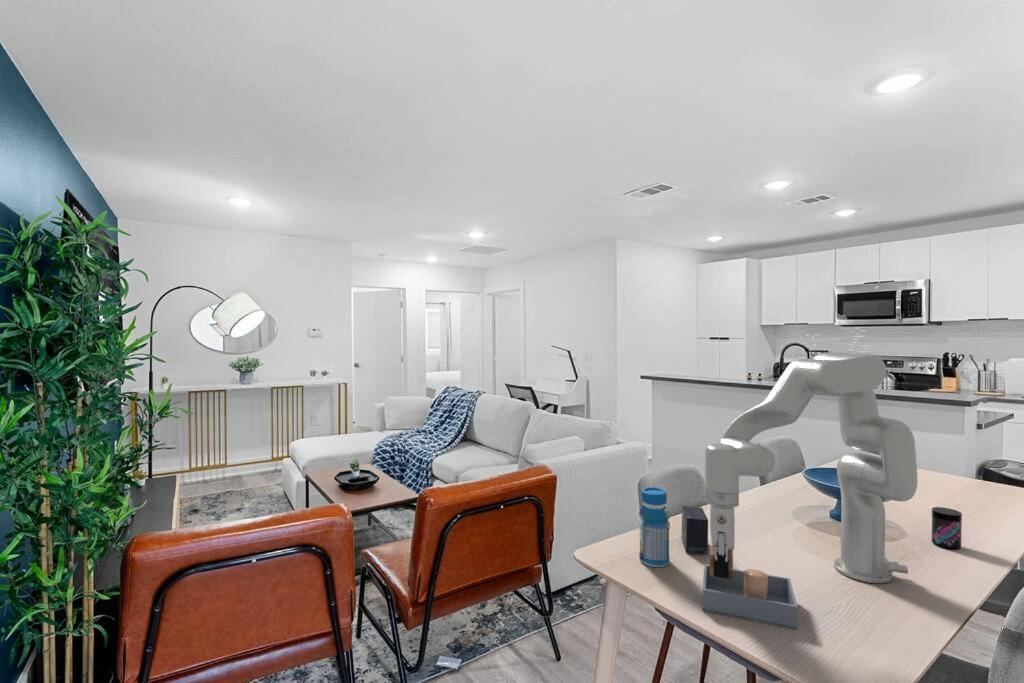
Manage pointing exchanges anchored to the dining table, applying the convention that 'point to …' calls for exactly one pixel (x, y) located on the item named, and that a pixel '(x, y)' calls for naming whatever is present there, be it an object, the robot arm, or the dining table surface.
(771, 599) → the tote
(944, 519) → the supplement container
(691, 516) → the small box
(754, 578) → the tan rounded smooth part
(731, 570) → the walnut cube
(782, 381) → the robot arm
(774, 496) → the dining table surface
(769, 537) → the dining table surface
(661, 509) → the beverage bottle
